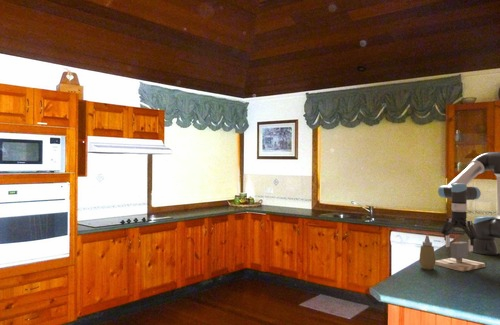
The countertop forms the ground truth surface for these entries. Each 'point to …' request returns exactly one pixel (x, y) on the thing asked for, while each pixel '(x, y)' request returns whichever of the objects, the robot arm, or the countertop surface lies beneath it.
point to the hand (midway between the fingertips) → (458, 249)
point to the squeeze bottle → (427, 255)
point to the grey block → (458, 250)
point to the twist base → (459, 264)
